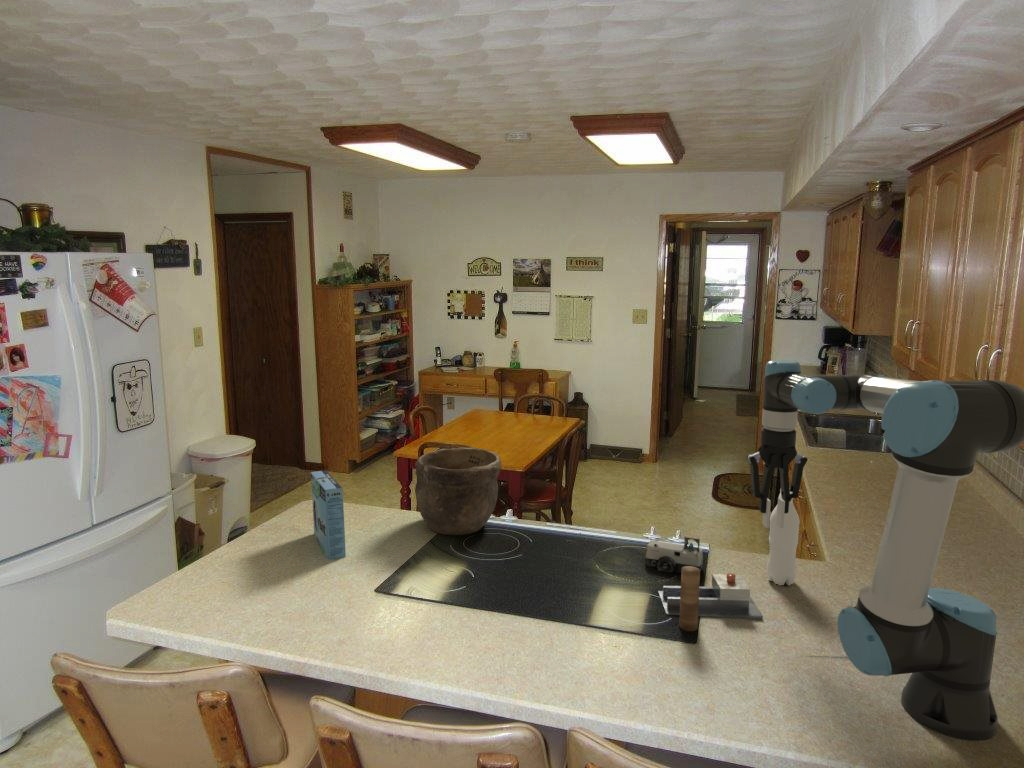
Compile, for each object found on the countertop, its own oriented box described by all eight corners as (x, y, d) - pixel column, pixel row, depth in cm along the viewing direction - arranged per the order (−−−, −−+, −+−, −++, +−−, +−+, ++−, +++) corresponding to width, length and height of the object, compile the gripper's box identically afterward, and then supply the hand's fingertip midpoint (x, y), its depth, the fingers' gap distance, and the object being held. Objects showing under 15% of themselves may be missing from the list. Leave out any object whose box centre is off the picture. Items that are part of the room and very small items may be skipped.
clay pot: (468, 559, 196) (468, 472, 193) (397, 541, 210) (396, 459, 206) (517, 531, 219) (517, 452, 215) (450, 516, 232) (449, 441, 228)
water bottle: (797, 589, 179) (804, 494, 175) (768, 586, 180) (774, 492, 176) (792, 577, 186) (798, 485, 182) (764, 575, 187) (769, 483, 183)
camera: (642, 572, 189) (643, 536, 188) (649, 562, 196) (651, 527, 194) (699, 583, 183) (701, 546, 181) (705, 572, 189) (706, 536, 188)
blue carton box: (346, 570, 189) (343, 487, 186) (327, 573, 187) (324, 490, 184) (331, 545, 207) (328, 469, 203) (313, 548, 204) (310, 471, 201)
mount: (762, 620, 163) (763, 605, 162) (666, 617, 164) (666, 603, 163) (747, 596, 174) (748, 583, 174) (657, 594, 175) (658, 581, 175)
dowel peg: (699, 633, 156) (701, 573, 154) (680, 633, 157) (683, 573, 154) (695, 624, 160) (697, 566, 158) (677, 624, 161) (679, 565, 158)
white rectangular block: (749, 600, 164) (750, 582, 164) (719, 600, 164) (720, 582, 164) (740, 585, 172) (740, 568, 171) (711, 585, 172) (712, 568, 172)
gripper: (807, 424, 165) (800, 521, 169) (739, 423, 166) (734, 520, 169) (819, 431, 158) (812, 532, 161) (749, 430, 158) (743, 531, 162)
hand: (772, 525), depth 165 cm, fingers open, 3 cm apart
